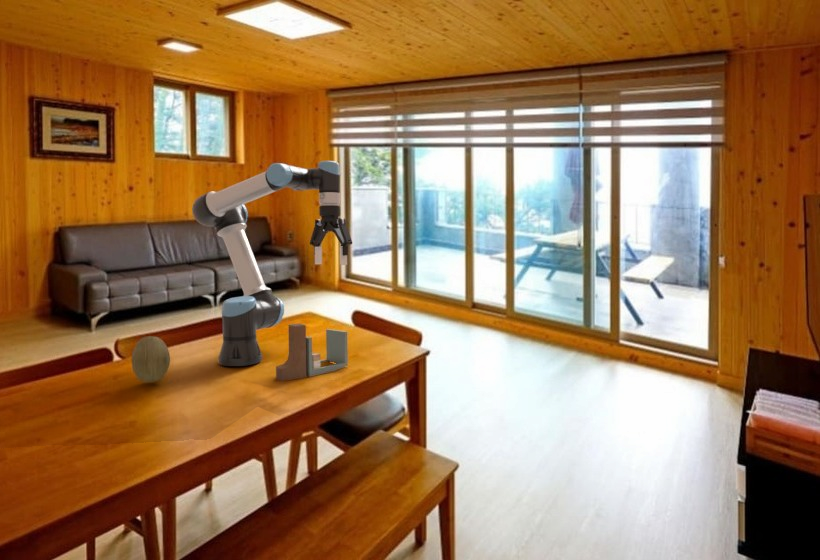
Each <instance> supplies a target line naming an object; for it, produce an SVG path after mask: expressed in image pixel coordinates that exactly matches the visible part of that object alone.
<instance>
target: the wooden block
mask: <svg viewBox="0 0 820 560" xmlns="http://www.w3.org/2000/svg"><path fill="white" fill-rule="evenodd" d="M306 331H307V326H306V324H303V323H290V324H288V356H287V359H286V361H284V363H283V364H280V365H276V366H275V371H276V372H275V378H276V380H277V381H280V382H284V381H290V380H295V379H296V380H297V379H303V378H307V376H306V337H307V332H306Z"/></svg>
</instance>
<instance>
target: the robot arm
mask: <svg viewBox="0 0 820 560" xmlns="http://www.w3.org/2000/svg"><path fill="white" fill-rule="evenodd" d="M317 165H318V166H317V167H316V168H304V167H300V166H299V167H298V166H294V165H291V164H286V163H284V162H283V163H281V162H280V163H279V162H274V163H272V164H270V166H268V168H267V169H266V171H263V172H260V173H259V174H256V175H254V176H252V177H250V178H247V179H245V180H243V181H239V182H237V183H235V184H233V185H230V186H228V187H226V188H223V189H222V190H221V189H220V190H219V191H213V190H212V191H211V190H210V191H209V192H206V193H204V194H201V195H200V196H199V197H197V198H196V199H195V200H194V202H193V204H192V206H191V207H192V208H191V210H192V211H191V213H192V215H193V218H194V220H196V222H198V223H199V224H200V225H202V226H204V227H212V228H214V229H215V231H216V235H217V236H218V237H220V238H222V239H223V242H224V244H225V246H226V250H227V253H228V255H229V258H230V261H231V263H232V266H233V269H234V270H235V271H234V272H235V273H236V276H237V279H238V281H239V284H240V286H241V289H242V292H243V295H242V296H235V297H230V298H228V299H226V300H224V301H223V302H222V306H221V307H222V308H221V320H222V321H221V322H222V345H221V348H220V351H219V355H218V364H219V366H225V367H243V366H250V365H255V364H259V363H261V362H262V361H263V354H262V351H261V348H260V345H259V343H258V340H257V338H258V337H257V330H262V329H265V328H267V329H268V328H269V329H270V328H272V327H274V326H276V325H278V324H279V323H280V322H281V321H283V316H284V315H285V306H284V303H283V301H282V300H281V298H279V297H278V296H275V295H274V294H273V291H272V288H270V287H268V286H267V285H266V284H265V281H264V279H263V275H262V272H261V270H260V268H259V265H258V262H257V260H256V258H255V254H254V252H253V249H252V245H250V242H249V240H248V237H247V234H246V229H247V227H248V225H247V221H248V217H249V213H248V209H247V207H246V205H245V204H248V203H250V202H252V201H255V200H257V199H260V198H262V197H265V196H268V195H270V194H272V193H275V192H277V191H280V190H282V189H285V188H291V190H292V191H301V192H302V191H309V190H318V203H319V208H318V214H319V216H320V217H321V219H315V220H314V227H313V231H312V234H311V238H310V239H309V245H310V246H313V254H314V265H323V248H322V243H323V241H324V238H325V237H326V236H327V233H329V232H332V233H334V236H335V237H336V239H337V240H338V242H339V243H340V246H339V265H340V266H348V255H349V246H350V245H353V241H352V237H351V235H350V232H349V229H348V227H347V222H346V221H347V220H346V218H344V217H340V216H341V206H339V205H341V185H340V184H341V179H340V178H341V169H340V163H338V162H337V161H335V160H322V161H319V162H318V164H317Z"/></svg>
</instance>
